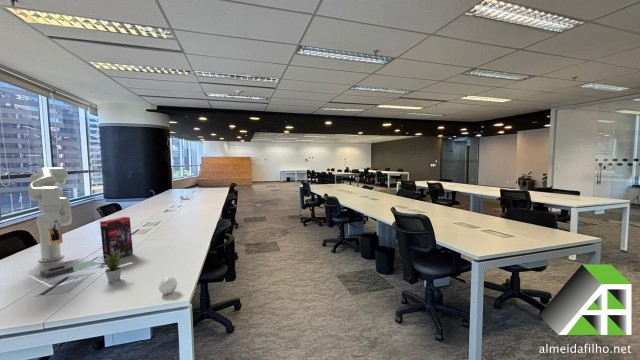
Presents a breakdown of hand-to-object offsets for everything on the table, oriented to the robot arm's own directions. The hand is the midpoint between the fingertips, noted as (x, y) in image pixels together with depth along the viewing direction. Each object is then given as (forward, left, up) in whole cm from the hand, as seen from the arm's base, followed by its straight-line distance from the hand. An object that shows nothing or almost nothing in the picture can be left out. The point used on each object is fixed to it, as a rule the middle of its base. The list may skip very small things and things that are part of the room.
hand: (54, 239), depth 157 cm
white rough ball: (+83, +16, -21) cm, 87 cm away
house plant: (+39, +12, -21) cm, 46 cm away
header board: (-1, +6, -21) cm, 22 cm away
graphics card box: (0, +32, -21) cm, 38 cm away
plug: (0, 0, -3) cm, 3 cm away
